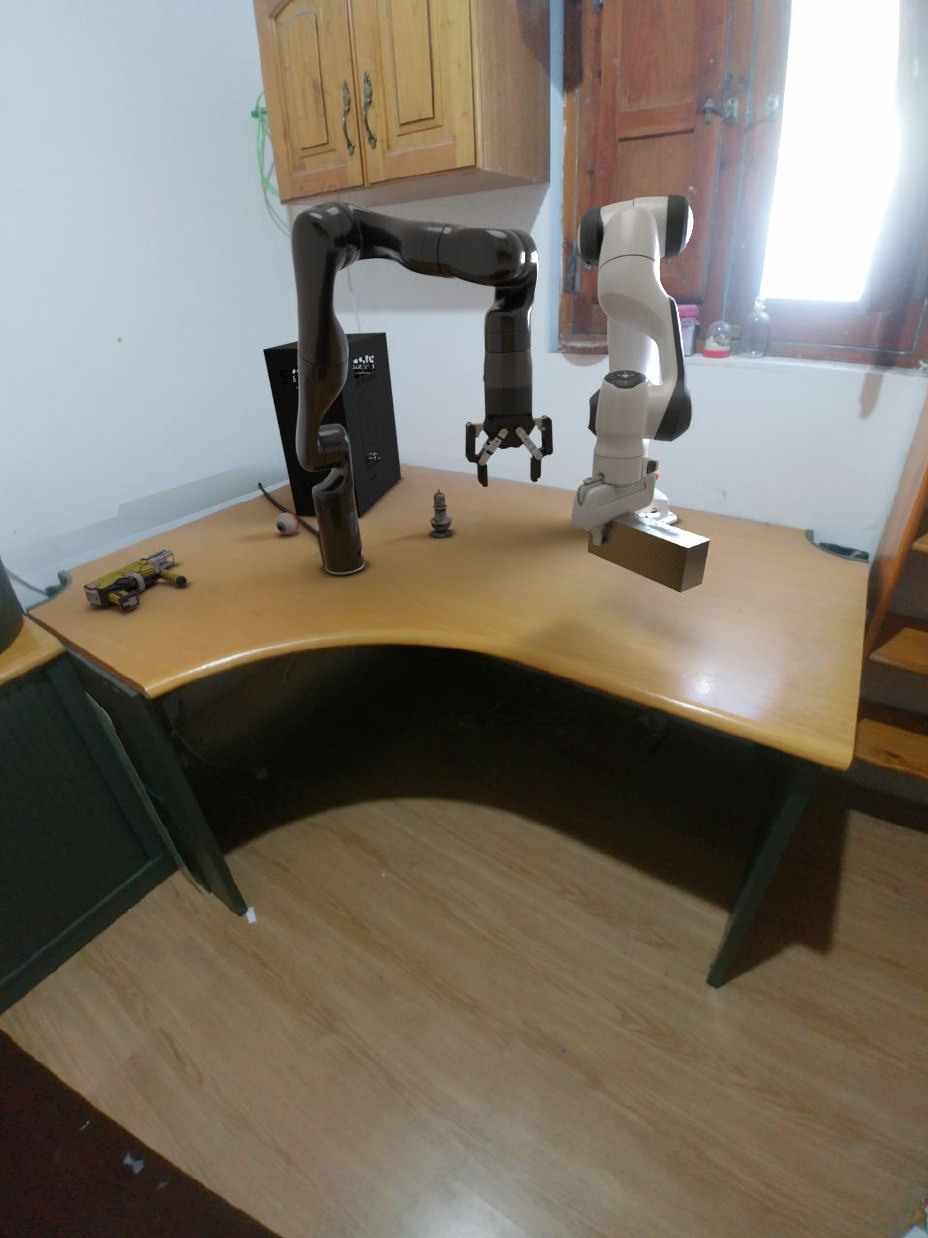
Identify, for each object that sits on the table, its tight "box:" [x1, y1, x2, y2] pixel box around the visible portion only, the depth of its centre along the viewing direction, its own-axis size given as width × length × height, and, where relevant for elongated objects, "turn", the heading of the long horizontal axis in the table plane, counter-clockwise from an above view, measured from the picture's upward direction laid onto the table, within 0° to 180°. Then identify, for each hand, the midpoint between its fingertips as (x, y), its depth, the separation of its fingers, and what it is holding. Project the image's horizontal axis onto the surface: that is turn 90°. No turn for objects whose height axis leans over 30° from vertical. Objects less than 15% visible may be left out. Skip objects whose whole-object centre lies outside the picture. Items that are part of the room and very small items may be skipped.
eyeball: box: [275, 511, 300, 536], centre depth 163 cm, size 6×6×6 cm
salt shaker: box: [429, 488, 453, 538], centre depth 157 cm, size 6×6×12 cm
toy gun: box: [83, 548, 188, 613], centre depth 139 cm, size 5×24×15 cm
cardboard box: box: [262, 331, 402, 518], centre depth 180 cm, size 38×20×45 cm, turn 167°
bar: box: [587, 512, 711, 593], centre depth 110 cm, size 22×6×8 cm, turn 34°
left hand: (509, 483), depth 102 cm, fingers open, 8 cm apart
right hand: (610, 538), depth 117 cm, fingers closed on bar, 6 cm apart
